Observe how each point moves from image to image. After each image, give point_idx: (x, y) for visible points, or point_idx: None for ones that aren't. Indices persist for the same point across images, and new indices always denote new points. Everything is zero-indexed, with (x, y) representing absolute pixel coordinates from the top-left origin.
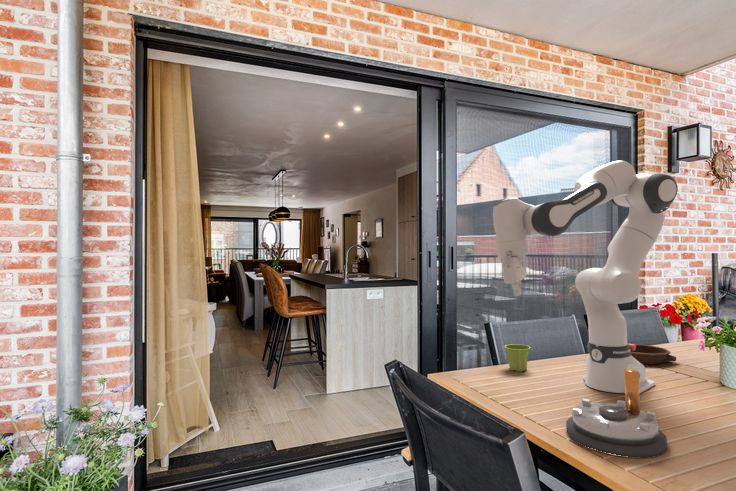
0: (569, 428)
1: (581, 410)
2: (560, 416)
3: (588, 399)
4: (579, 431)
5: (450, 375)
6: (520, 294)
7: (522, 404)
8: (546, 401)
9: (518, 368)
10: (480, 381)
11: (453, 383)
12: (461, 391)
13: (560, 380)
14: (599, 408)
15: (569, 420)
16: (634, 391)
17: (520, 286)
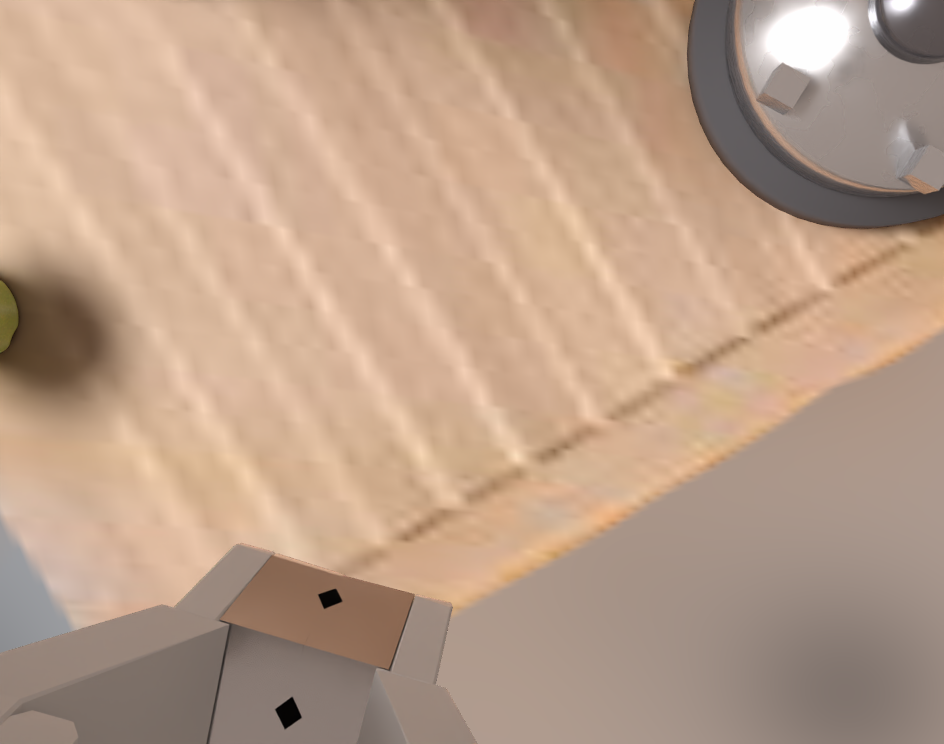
0: (897, 220)
1: (866, 138)
2: (664, 219)
3: (779, 72)
4: None
5: None
6: (368, 582)
7: (533, 364)
8: (477, 247)
9: (8, 317)
10: (229, 527)
11: None
12: None
13: (137, 116)
14: (931, 50)
15: (804, 200)
16: None
17: (151, 661)
